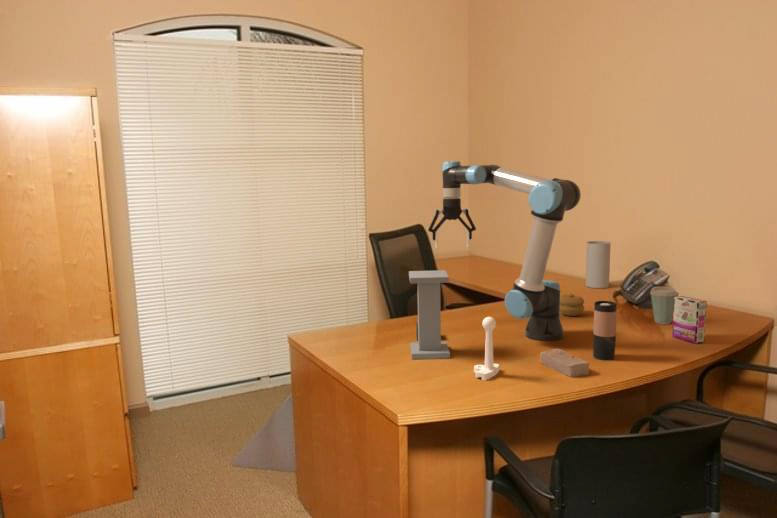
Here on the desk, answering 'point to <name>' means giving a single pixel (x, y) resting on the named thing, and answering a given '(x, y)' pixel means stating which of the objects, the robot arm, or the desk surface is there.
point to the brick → (564, 363)
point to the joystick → (487, 352)
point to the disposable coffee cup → (663, 304)
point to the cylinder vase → (597, 264)
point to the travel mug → (604, 330)
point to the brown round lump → (571, 305)
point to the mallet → (417, 330)
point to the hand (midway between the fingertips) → (452, 247)
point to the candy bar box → (689, 319)
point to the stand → (429, 315)
